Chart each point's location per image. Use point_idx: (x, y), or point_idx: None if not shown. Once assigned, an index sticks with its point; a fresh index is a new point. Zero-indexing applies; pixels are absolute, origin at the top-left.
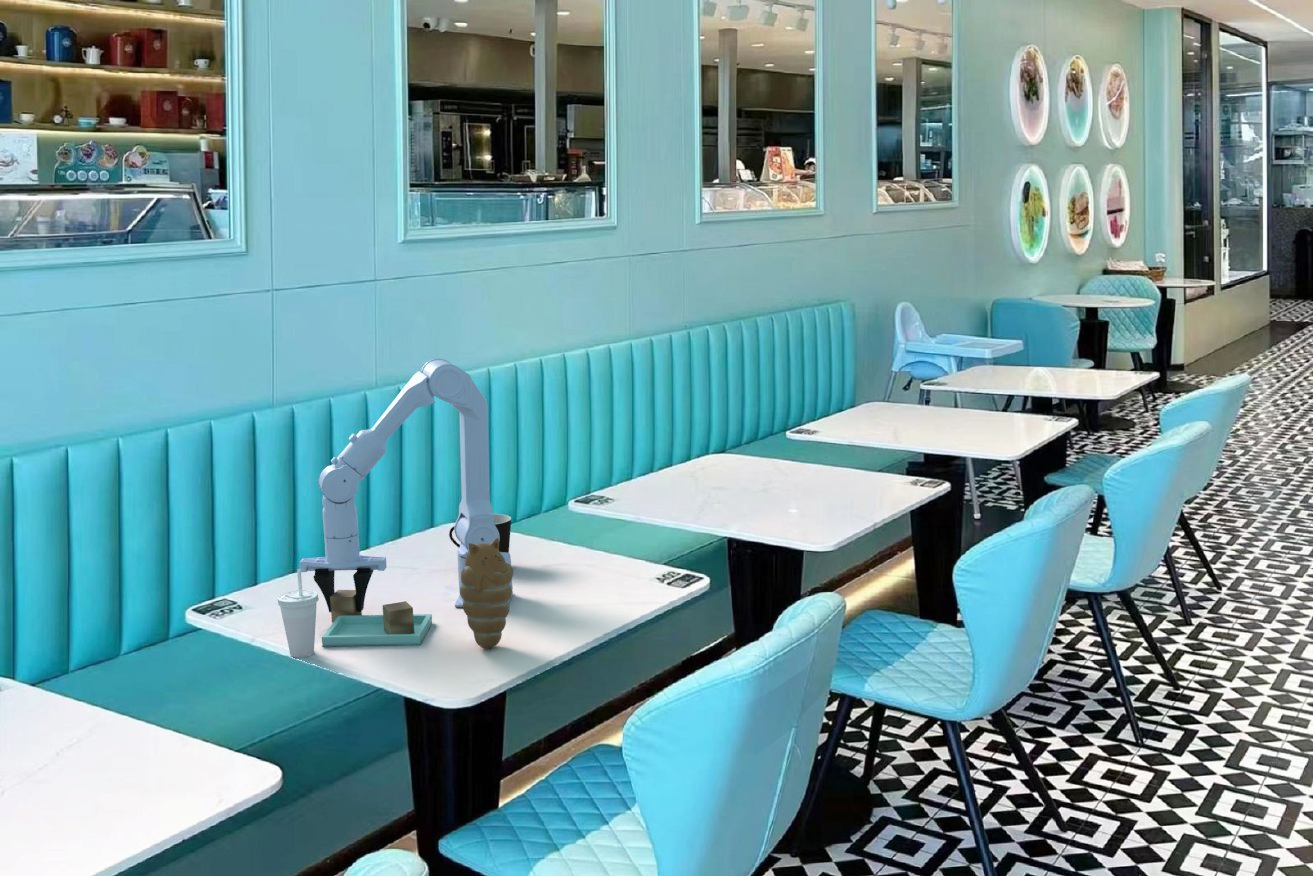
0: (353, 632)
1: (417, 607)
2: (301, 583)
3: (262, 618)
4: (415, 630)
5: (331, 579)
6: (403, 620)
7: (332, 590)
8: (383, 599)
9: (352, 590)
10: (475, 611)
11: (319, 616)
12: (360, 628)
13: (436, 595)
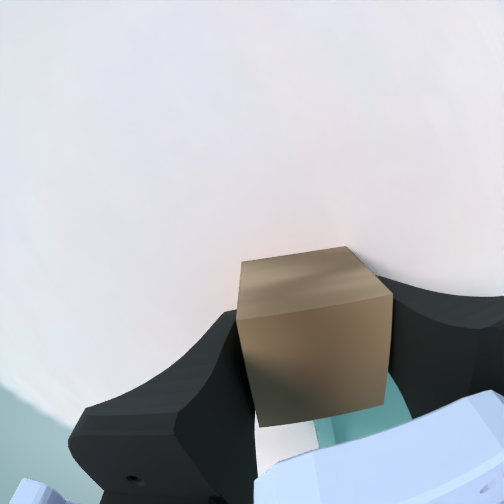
0: (383, 422)
1: (499, 127)
2: None
3: (19, 338)
4: None
5: (232, 450)
6: None
7: (235, 388)
8: (337, 22)
9: (346, 314)
10: None
11: (166, 300)
12: (395, 394)
13: (485, 2)
